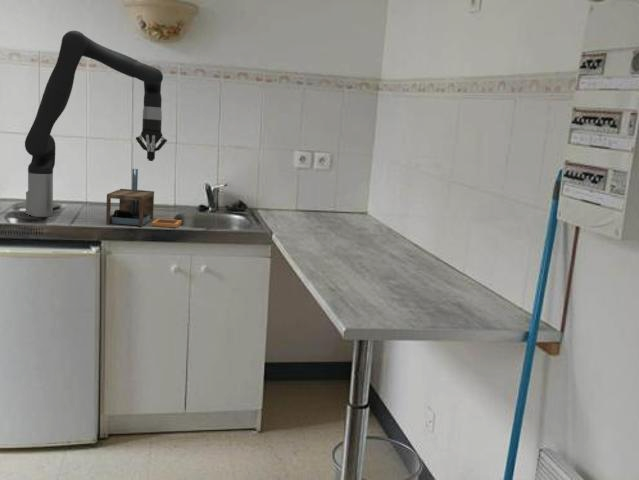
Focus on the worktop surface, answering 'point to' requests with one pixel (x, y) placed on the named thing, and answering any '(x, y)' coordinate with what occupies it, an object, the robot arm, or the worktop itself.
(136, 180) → the stand with upright post
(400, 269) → the worktop surface
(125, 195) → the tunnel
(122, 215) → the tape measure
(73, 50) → the robot arm
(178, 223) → the tray
